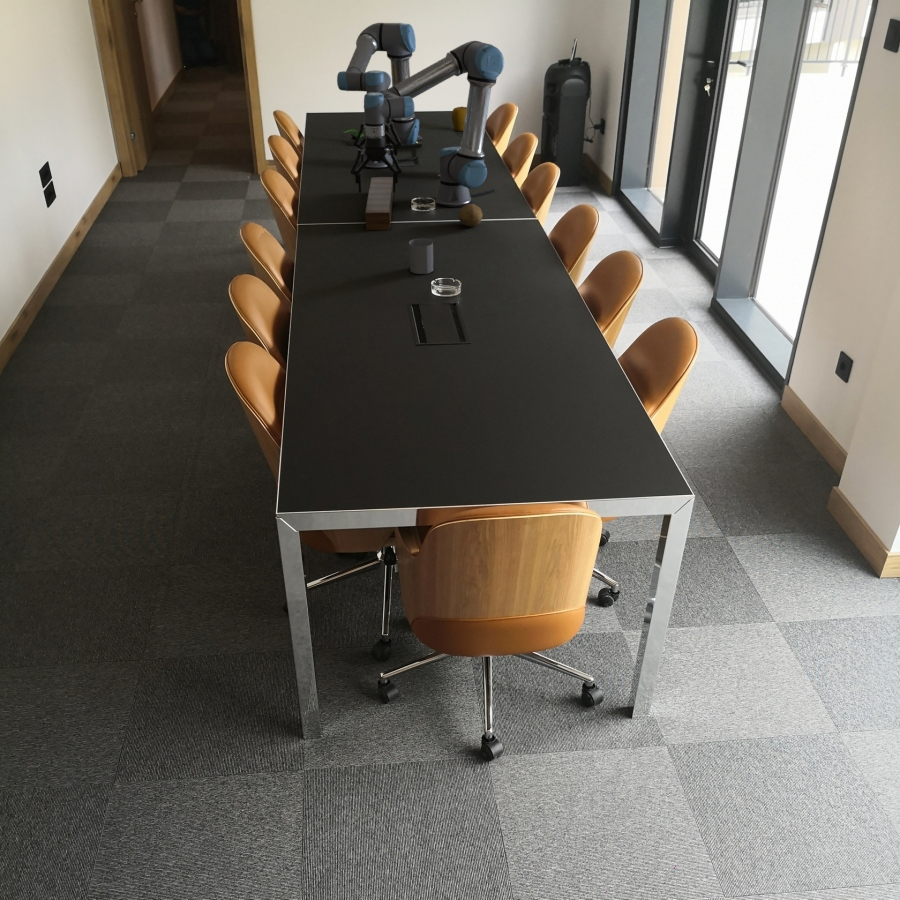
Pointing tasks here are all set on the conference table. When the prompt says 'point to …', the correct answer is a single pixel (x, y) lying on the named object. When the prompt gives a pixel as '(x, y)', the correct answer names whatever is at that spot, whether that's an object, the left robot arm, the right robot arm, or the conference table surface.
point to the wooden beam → (379, 204)
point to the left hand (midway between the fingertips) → (378, 163)
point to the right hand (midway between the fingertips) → (377, 191)
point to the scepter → (354, 136)
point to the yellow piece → (459, 118)
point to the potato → (470, 215)
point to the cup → (421, 256)
